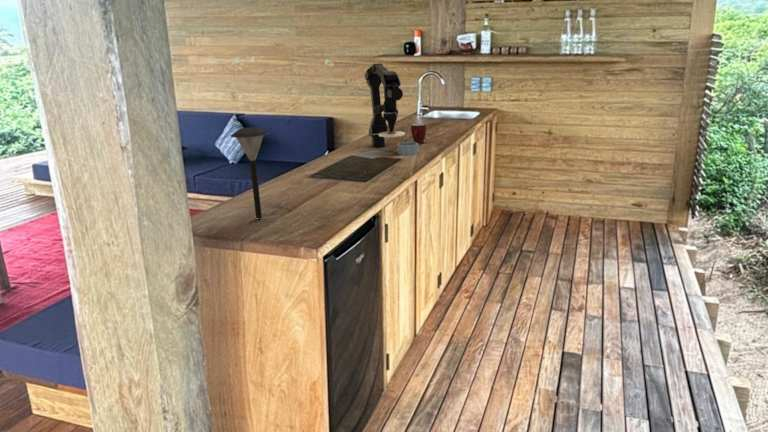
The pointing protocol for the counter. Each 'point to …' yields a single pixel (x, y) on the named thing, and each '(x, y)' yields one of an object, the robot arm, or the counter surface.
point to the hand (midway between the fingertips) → (391, 131)
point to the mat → (373, 154)
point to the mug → (418, 132)
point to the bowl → (407, 148)
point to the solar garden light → (252, 157)
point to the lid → (391, 133)
